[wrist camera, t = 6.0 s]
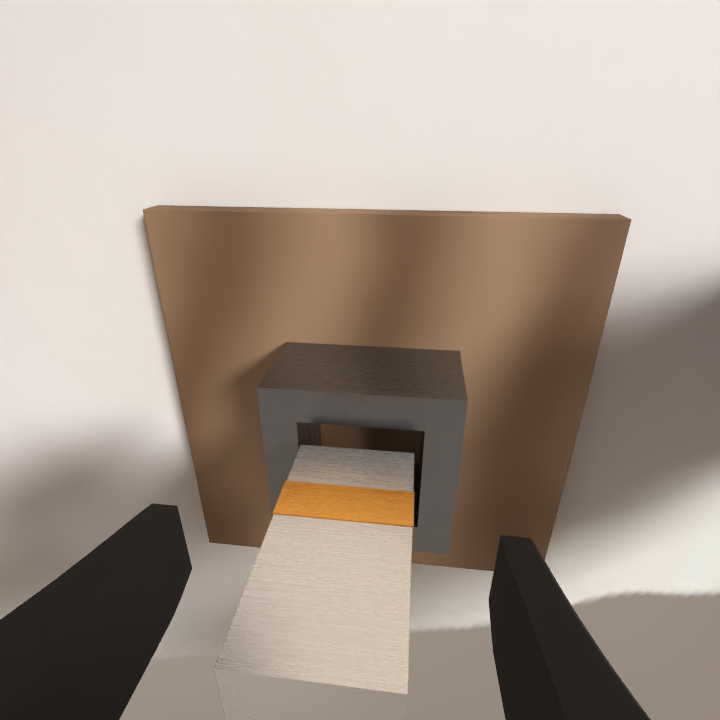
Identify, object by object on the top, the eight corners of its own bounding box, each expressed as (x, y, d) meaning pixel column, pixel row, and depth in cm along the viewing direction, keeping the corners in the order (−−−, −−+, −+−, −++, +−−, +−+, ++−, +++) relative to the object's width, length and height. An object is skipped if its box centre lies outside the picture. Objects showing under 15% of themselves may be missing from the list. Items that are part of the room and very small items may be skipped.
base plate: (618, 214, 15) (631, 219, 14) (536, 558, 22) (540, 576, 21) (157, 205, 17) (142, 209, 16) (217, 526, 24) (209, 542, 23)
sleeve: (459, 350, 17) (468, 400, 14) (445, 488, 20) (449, 554, 17) (286, 341, 18) (256, 387, 15) (296, 475, 21) (273, 537, 17)
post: (415, 452, 14) (409, 693, 8) (409, 537, 16) (401, 792, 10) (299, 443, 14) (211, 667, 8) (305, 528, 16) (235, 766, 10)
